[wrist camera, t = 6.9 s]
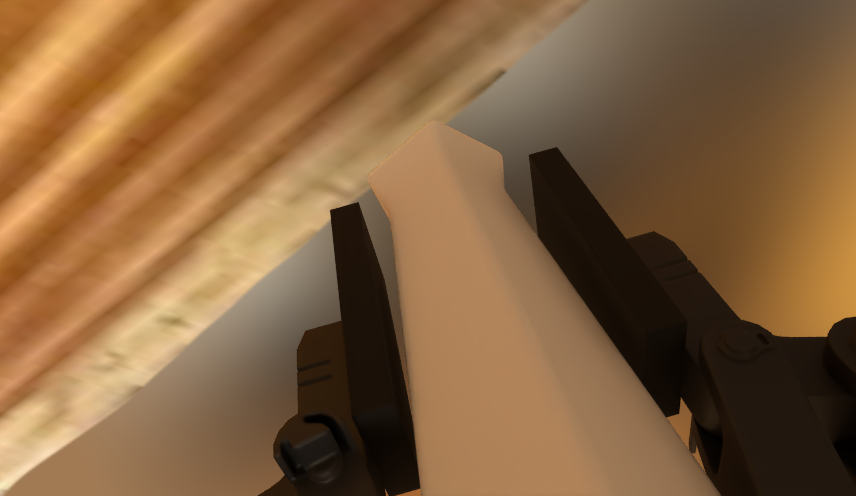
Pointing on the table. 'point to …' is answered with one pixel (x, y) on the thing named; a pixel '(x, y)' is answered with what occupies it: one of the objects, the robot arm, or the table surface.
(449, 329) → the perfume bottle
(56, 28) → the table surface
